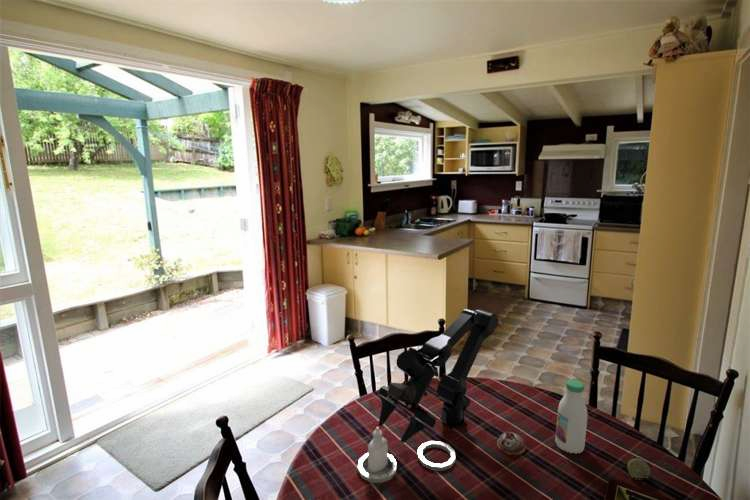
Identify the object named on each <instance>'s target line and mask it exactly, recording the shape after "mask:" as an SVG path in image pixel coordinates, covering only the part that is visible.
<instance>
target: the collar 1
mask: <svg viewBox="0 0 750 500" xmlns="http://www.w3.org/2000/svg"><path fill="white" fill-rule="evenodd" d="M397 466H398V465H397V461H396V459H395V458H394V456H393V455H392V454H389V453H388V463H387V465H386V467H385V468H384V469H383V470H381V471H379V472H376V473H373V472H371V471H370V470H369V469H368V452H367V453H364V454H363V455H362V456H361V457H360V458H359V459H358V464H357V472H358V474H359V476H360V477H361V479H363V480H365V481H367V482H369V483H374V484H382V483H385V482H388V481H391V480H392V478H393V477H394V476H395V475H396V474H397V469H398V468H397Z"/></svg>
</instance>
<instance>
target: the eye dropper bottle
mask: <svg viewBox="0 0 750 500" xmlns="http://www.w3.org/2000/svg"><path fill="white" fill-rule="evenodd" d="M379 427H380V426H376V428H375V430H373V432H372V435H373V436H372V440H371V441H370V442H369V444H368V445H367V446H368V447H367V453H368V469H369V470H370V471H371V472H373V473H376V472H379V471H381V470H383V469H384V468H385V467H386V465H387V463H388V454H389V453H388V440H387V438H385V437H384V436H383V430H381V429H380V428H379Z"/></svg>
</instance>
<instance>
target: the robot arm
mask: <svg viewBox="0 0 750 500" xmlns="http://www.w3.org/2000/svg"><path fill="white" fill-rule="evenodd" d="M499 321H500V320H499V318H498V315H497V314H496V313H494V312H491V311H488V310H485V309H481V308H477V309H475V310H472V309H470V308H464V309H463V310H462V311H461V314H460V315H459V316H458V317H457V318H456V319H455V320H454V321H453V322H452V323H451V324H450V325H449V326H448V327H447V328H446V329H445V330H444V331H443V332H442V333H441V334H440V335H438V336H435V337H432V338H430V339H429V340H428V341H426V342H425V343H424V344H423V345H422V346H420V347H418V348H417V349H416V348H414V347H412V346H409V348H408V350H404V351H402V352H401V353H400V354H398V356H397V358H396V360H395V361H396V366H397V368H399V370H400V371H402V372H404V373H405V374H406V376H408V377H409V378H408V379H405V380H403V382H402V383H400V382H390V383H389V385H388V386H386V385H382V386H380V388H378V389H379V390H377V393H378V395H379V399H380V401H381V409H380V414H379V420H378V427H383V425H384V424H385V423H386V422H387V420H388V419H389V417H390V416H391V415H392V414H393V412H394V411H395V409H396V408H397V406H396V404H397V405H399V406H401V407H402V408H403V409H405V410H407V411H409V412H410V413H411V414H413V416H412V415H410V416H409V417H410V418H409V424H408V426H407V427H406V429H405V431H404V433H403V434H402V436H401V439H400V442H401V443H402V444H404V443H406V442H407V441H408V440H410V439H411V438H412V437H413V436H415V435H416V434H418V433H419V432H421V431H423V430H424V429H427V430H428V429H429V427H430V428H431V429H434V427H435V425H436V423H437V421H436V418H437V417H435V416H434V415H433V414H431V413H430V412H428V411H427V410H425V409H423V408H422V407H421V406H420V405H419V404H420V403H421V401H422V398H423V397H424V398H425V397H426V398H427V395H428V393H427V390H428V388H429V386H430V385H431V383H432V381H433V379H434V377H435V378H439V376H440V375H439V371H438V367H440V368H442V367H444V365H445V364H447V362H448V360H449V359H450V358H451V356H452V350H453V348H454V347H455V346H456V345H457V343H458V342H460V340H461V339H462V338H463V337H464V336H465V335H466V334H467V333H468V332H469V334H468V336H467V339H466V341H465V342H464V344H463V346H462V349H461V351H460V352H459V355H458V357H457V359H456V361H455V364H454V366H453V367H452V370H451V371H450V372H449V373H448V374H446V373H443V374H442V375H441V378H440V380H439V382H438V383H437V387H436V393H437V394H436V395H437V397H438V400H439V401H440V402H442V404H443V405H442V408H441V415H440V416H439V418H440V420H441V421H443V422H444V424H446V425H447V426H448V428H450V429H454V428H457V427H461V426H464V425H467V424H468V421H467V420H466V419H465V412H466V411H467V410H468V408H469V406H470V405H471V404H470V403H471V398H469V397H468V396H467V395H466V393H467V390H468V389H467V382H466V381H467V377H468V375H469V373H470V371H471V369H472V367H473V364H474V362H475V360H476V358H477V357H478V354H479V352H480V350H481V348H482V345H483V343H484V341H485V340H486V339H487V338H489V337H490V336H491V335H493V334H494V332H495V330H496V329H497V327H498V326H499V323H500V322H499ZM394 404H395V405H394Z"/></svg>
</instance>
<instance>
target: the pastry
mask: <svg viewBox="0 0 750 500" xmlns="http://www.w3.org/2000/svg"><path fill="white" fill-rule="evenodd" d="M496 442H497V443H496V444H497V448H498V449H499V450H500V451H502V452H503V453H505V454H507V455H511V456H519V455H522V454H524V453H525V452H526V449H527V447H526V446H527V445H526V442H525V441H524V439H523V438H522V437H521V436H520V434H517V433H514V432H511V431H505V432H504V433H502V434H501V435H500V436H499V437H498V439H497V441H496Z"/></svg>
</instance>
